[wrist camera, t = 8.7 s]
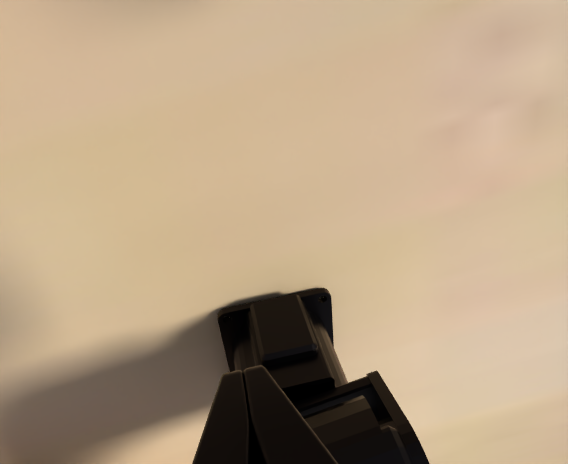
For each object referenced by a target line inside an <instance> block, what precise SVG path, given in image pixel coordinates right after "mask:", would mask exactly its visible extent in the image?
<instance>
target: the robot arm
mask: <svg viewBox="0 0 568 464" xmlns="http://www.w3.org/2000/svg"><path fill="white" fill-rule="evenodd" d="M321 296H324V297H323V298H321V299H319V298H320V297H321ZM226 316H229V318H224V317H226ZM218 323H219V327H220V331H221V336H222V340H223V344H224V348H225V352H226V357H227V361H228V365H229V369H230V372H228V373H225V374H223V375H222V377H221V380H220V383H219V386H218V389H217V392H216V395H215V398H214V401H213V404H212V407H211V409H210V412H209V415H208V418H207V421H206V424H205V427H204V430H203V433H202V436H201V439H200V442H199V445H198V448H197V451H196V454H195V457H194V460H193V463H192V464H429V462H428V459H427V457H426V455H425V452H424V450H423V448H422V446H421V444H420V442H419V440H418V438H417V436H416V434H415V432H414V430H413V428H412V426H411V425H410V423H409V421H408V420H407V418H406V416H405V415H404V413H403V412H402V410H401V408H400V407H399V405H398V403H397V402H396V400H395V399H394V397H393V395H392V394H391V392H390V391H389V389H388V387H387V386H386V384H385V382H384V381H383V379H382V378H381V376H380V374H379V373H378V371H374V372H371V373H368V374H367V376H366V377H363V378H360V379H358V380H355V381H352V382H349V383H348V381H347V379H346V377H345V374H344V372H343V369H342V367H341V365H340V362H339V360H338V357H337V355H336V352H335V350H334V345H333V324H332V304H331V295H330V293H329V291H328V290H327V289H325V288H320V289H315V290H310V291H305V292H300V293H296V294H291V295H286V296H281V297H277V298H272V299H267V300H262V301H258V302H253V303H248V304H243V305H238V306H234V307H229V308H225V309H222V310H221V311H219V313H218Z"/></svg>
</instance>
